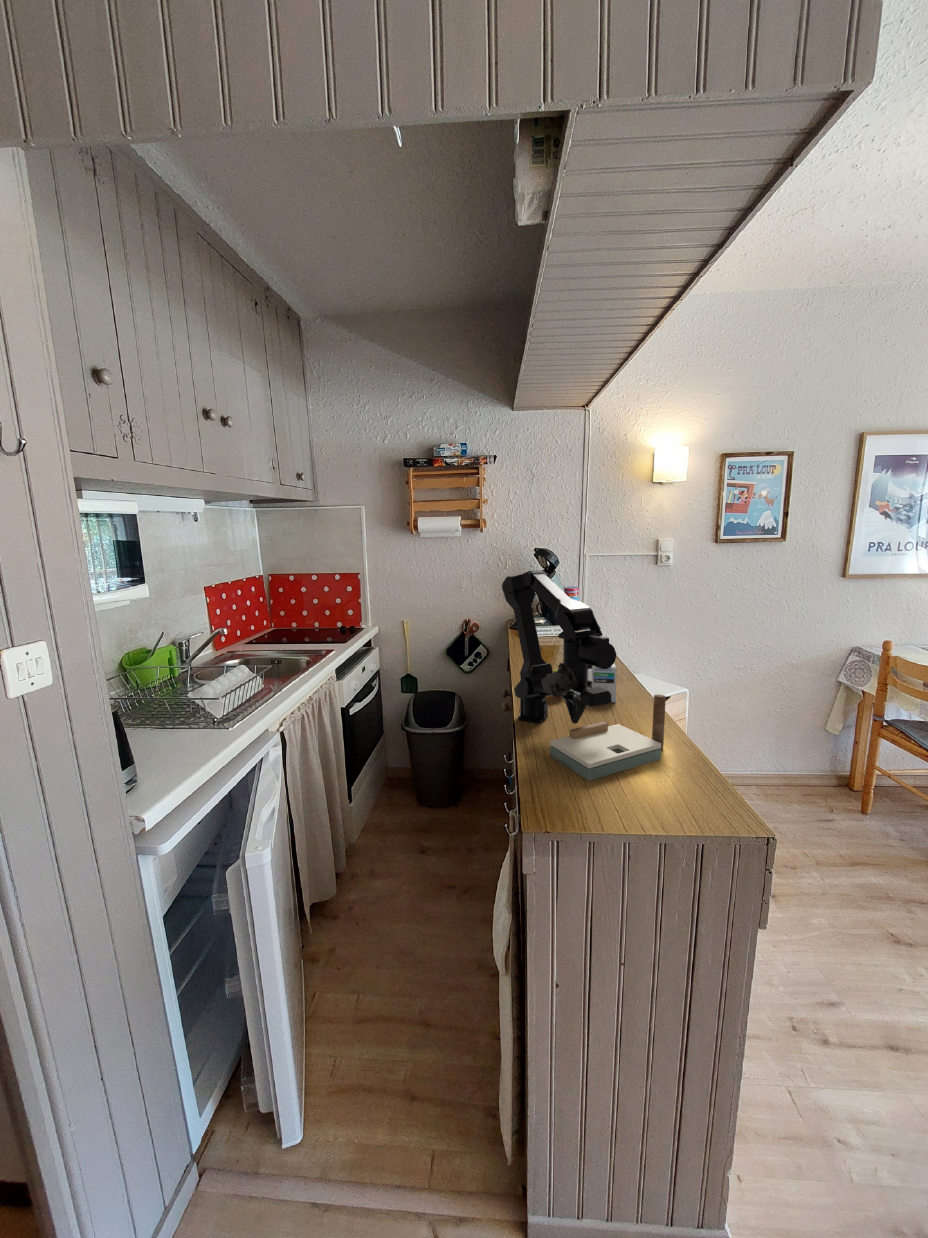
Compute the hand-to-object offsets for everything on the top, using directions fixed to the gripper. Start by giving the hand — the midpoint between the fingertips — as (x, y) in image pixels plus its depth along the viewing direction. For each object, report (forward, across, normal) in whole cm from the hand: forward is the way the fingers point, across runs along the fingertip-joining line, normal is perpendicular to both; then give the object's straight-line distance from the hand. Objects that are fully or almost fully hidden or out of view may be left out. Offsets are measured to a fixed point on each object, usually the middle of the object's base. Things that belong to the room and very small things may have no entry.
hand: (574, 723), depth 119 cm
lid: (+2, +10, 0) cm, 11 cm away
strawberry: (+5, -28, +17) cm, 33 cm away
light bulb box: (+5, -22, +28) cm, 36 cm away
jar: (+5, -35, +34) cm, 49 cm away
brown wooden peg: (+5, +12, +14) cm, 19 cm away
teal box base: (+5, +10, 0) cm, 11 cm away
